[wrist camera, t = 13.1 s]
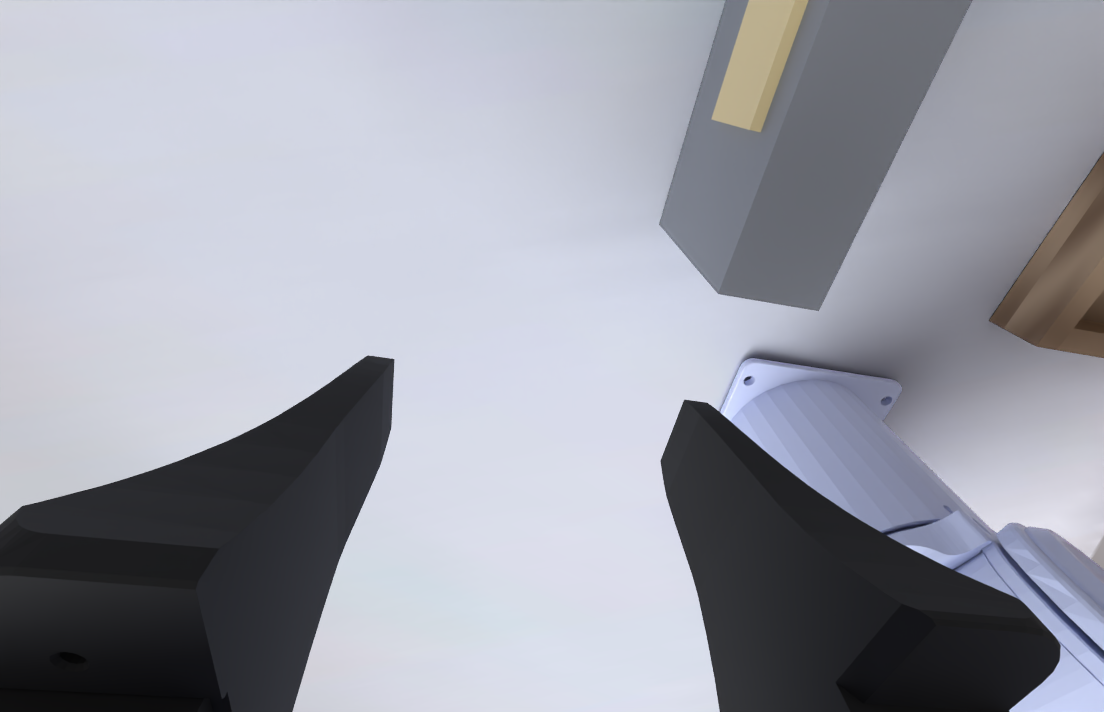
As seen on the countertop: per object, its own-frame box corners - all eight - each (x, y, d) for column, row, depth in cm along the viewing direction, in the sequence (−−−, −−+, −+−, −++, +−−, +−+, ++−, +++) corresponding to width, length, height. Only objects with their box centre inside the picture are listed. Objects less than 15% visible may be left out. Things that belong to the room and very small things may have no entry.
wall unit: (730, 237, 20) (818, 310, 14) (652, 223, 20) (707, 292, 14) (919, -272, 13) (1244, -552, 7) (806, -311, 13) (1053, -645, 7)
